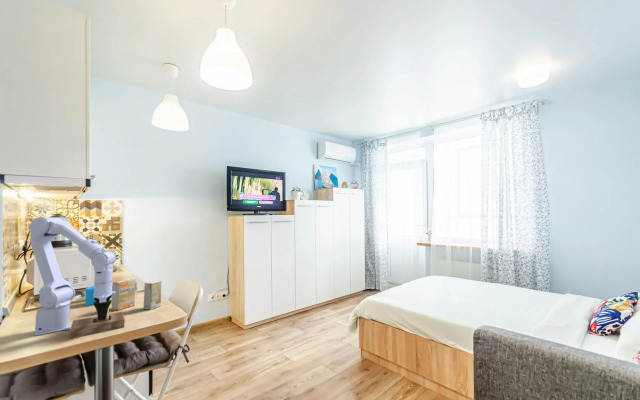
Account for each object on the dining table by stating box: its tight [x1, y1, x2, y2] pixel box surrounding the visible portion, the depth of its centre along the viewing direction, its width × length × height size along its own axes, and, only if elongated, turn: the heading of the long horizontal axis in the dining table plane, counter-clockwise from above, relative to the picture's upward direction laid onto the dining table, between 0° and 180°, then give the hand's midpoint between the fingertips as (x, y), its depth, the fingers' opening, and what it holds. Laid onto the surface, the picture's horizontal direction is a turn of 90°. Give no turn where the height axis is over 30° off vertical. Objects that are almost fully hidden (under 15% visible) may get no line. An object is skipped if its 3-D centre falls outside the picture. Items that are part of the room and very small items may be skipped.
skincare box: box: [143, 280, 162, 310], centre depth 133 cm, size 6×4×12 cm
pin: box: [96, 307, 110, 322], centre depth 110 cm, size 4×4×8 cm
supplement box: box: [111, 278, 136, 312], centre depth 134 cm, size 8×5×13 cm, turn 161°
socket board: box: [69, 311, 126, 339], centre depth 109 cm, size 16×12×3 cm
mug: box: [84, 285, 112, 307], centre depth 143 cm, size 12×8×8 cm
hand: (102, 316), depth 110 cm, fingers open, 7 cm apart
